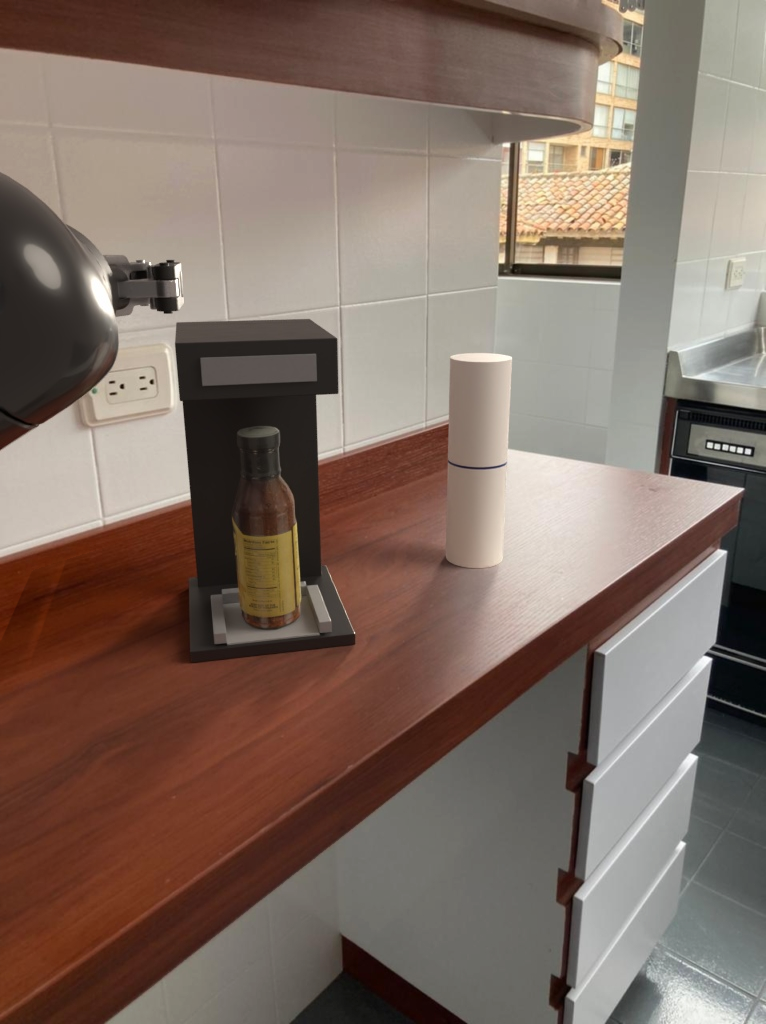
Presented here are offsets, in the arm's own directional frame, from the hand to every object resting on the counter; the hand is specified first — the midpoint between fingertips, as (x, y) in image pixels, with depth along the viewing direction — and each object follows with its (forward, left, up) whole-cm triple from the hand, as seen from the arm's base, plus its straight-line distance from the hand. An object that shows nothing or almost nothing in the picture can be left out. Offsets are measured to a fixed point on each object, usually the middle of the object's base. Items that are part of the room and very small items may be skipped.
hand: (69, 280), depth 53 cm
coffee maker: (+13, +22, -36) cm, 44 cm away
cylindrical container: (+40, +32, -36) cm, 63 cm away
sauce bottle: (+13, +18, -35) cm, 41 cm away
